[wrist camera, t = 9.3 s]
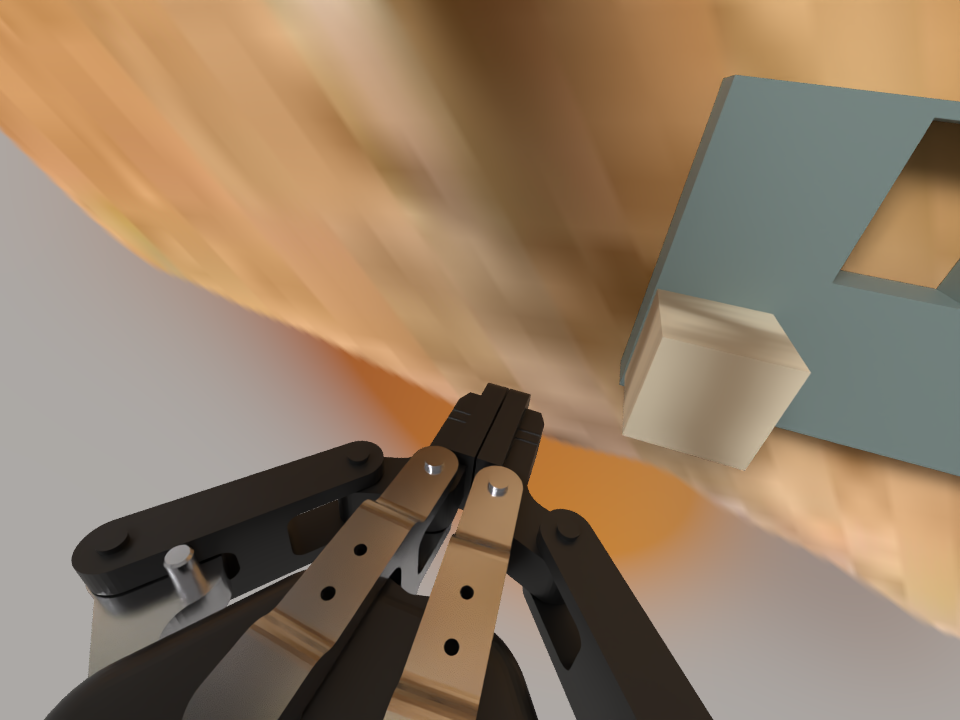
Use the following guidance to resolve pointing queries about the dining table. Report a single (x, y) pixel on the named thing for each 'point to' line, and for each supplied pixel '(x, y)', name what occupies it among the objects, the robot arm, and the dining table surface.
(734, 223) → the box
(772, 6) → the dining table surface
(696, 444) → the block
